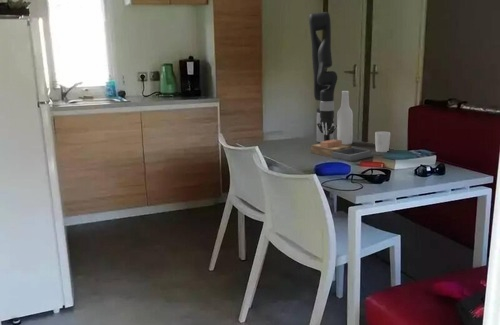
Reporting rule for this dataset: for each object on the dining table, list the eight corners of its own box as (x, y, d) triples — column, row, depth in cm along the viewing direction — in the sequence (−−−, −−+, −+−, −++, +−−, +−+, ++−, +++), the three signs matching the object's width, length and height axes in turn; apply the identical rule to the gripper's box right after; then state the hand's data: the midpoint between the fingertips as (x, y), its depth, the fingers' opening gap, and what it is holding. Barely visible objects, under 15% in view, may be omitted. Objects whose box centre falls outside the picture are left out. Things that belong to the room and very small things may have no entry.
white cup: (372, 152, 272) (373, 133, 270) (376, 149, 279) (377, 131, 276) (387, 153, 268) (388, 134, 266) (391, 150, 275) (391, 131, 273)
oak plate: (329, 148, 283) (329, 141, 282) (351, 153, 271) (351, 145, 270) (310, 152, 275) (310, 145, 274) (333, 157, 262) (333, 149, 261)
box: (352, 152, 271) (353, 147, 271) (371, 156, 262) (371, 150, 261) (331, 157, 262) (331, 152, 261) (350, 161, 253) (350, 155, 252)
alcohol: (333, 143, 298) (334, 91, 292) (346, 141, 302) (347, 90, 295) (342, 145, 291) (343, 92, 284) (355, 144, 294) (356, 91, 287)
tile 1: (327, 145, 273) (327, 140, 273) (334, 146, 270) (334, 141, 269) (320, 146, 270) (320, 141, 270) (327, 147, 267) (327, 143, 266)
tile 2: (334, 143, 277) (334, 138, 276) (341, 144, 273) (341, 140, 273) (328, 144, 274) (328, 140, 273) (335, 146, 270) (335, 141, 270)
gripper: (341, 109, 271) (340, 142, 275) (322, 107, 281) (322, 139, 285) (331, 111, 267) (330, 144, 270) (313, 109, 277) (313, 140, 281)
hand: (326, 141), depth 278 cm, fingers closed
